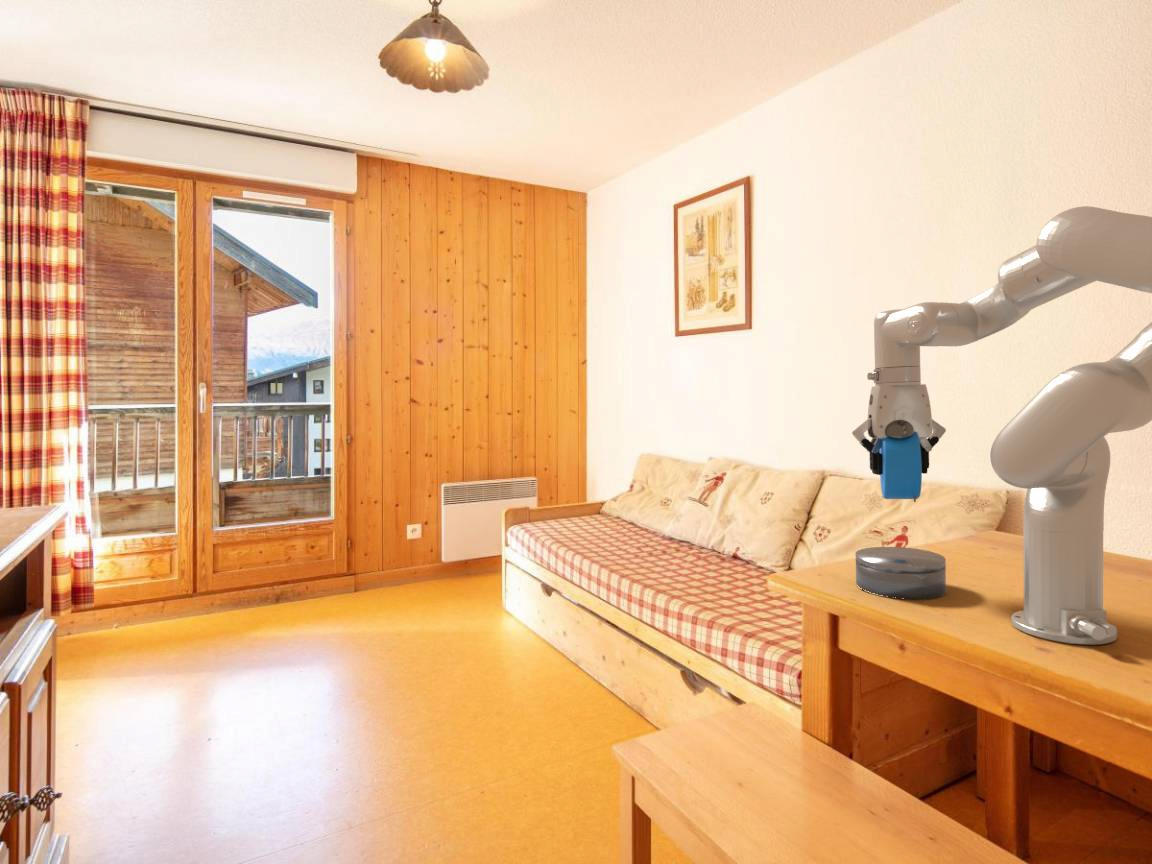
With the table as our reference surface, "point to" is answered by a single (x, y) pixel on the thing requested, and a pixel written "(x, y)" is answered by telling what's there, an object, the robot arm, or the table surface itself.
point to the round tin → (901, 572)
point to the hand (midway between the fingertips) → (899, 472)
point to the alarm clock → (901, 462)
